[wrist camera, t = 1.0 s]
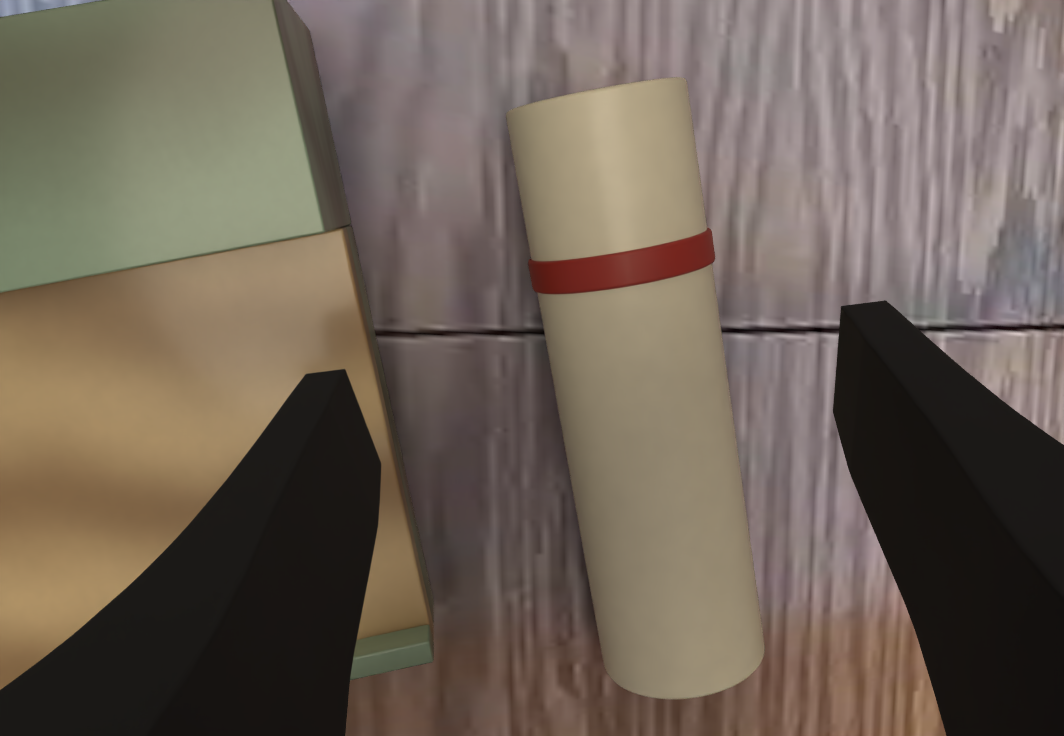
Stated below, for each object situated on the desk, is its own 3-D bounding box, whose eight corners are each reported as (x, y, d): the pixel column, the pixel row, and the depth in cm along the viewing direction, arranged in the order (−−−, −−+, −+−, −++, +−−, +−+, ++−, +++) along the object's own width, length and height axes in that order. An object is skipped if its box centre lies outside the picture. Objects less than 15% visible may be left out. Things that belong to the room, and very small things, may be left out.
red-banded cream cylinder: (734, 599, 28) (796, 678, 23) (586, 633, 27) (620, 720, 23) (661, 89, 25) (717, 66, 20) (493, 119, 24) (511, 102, 20)
